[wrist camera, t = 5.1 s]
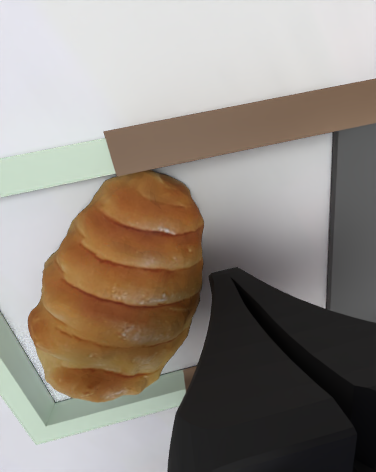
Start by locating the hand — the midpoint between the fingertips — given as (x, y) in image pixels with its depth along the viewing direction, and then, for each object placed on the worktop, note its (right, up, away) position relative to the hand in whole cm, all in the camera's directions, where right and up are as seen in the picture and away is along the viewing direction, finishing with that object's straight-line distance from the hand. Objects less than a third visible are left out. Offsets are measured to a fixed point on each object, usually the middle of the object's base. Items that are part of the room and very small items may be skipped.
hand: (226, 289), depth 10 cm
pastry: (-5, 0, +1) cm, 5 cm away
